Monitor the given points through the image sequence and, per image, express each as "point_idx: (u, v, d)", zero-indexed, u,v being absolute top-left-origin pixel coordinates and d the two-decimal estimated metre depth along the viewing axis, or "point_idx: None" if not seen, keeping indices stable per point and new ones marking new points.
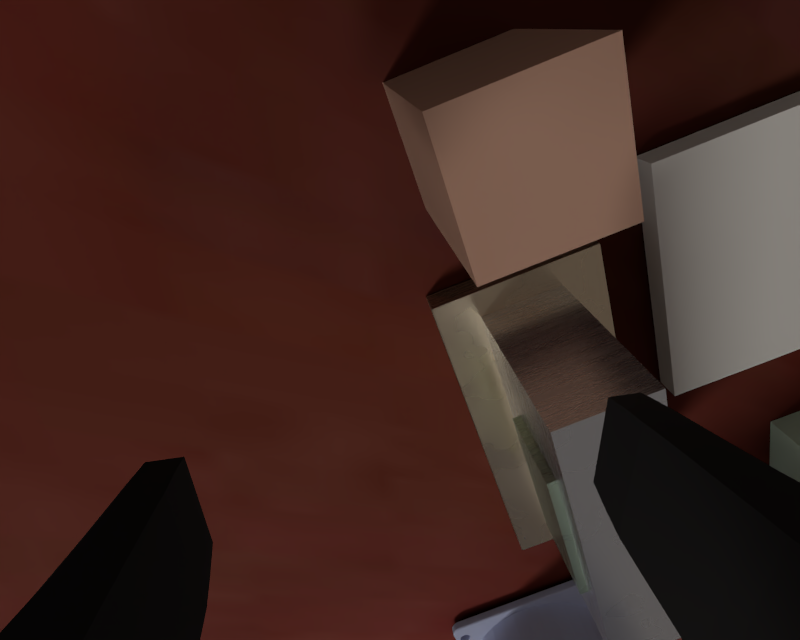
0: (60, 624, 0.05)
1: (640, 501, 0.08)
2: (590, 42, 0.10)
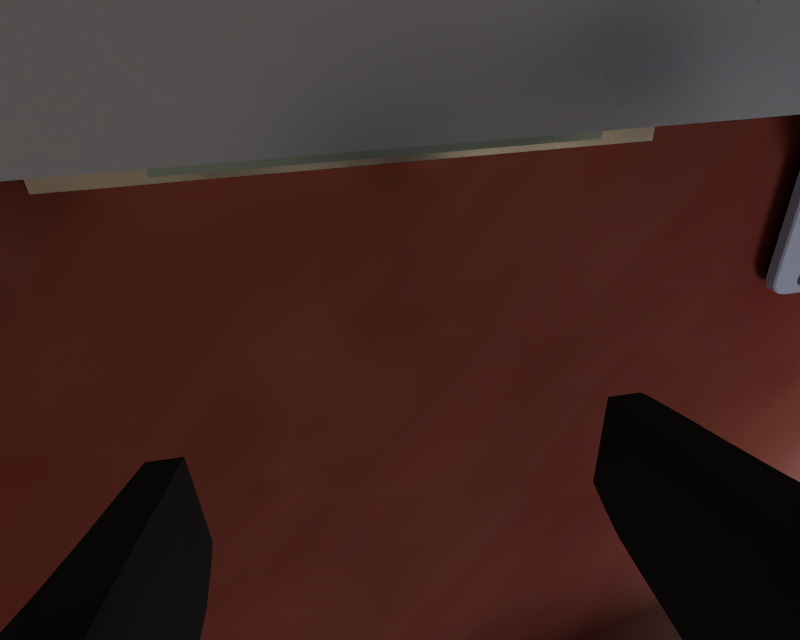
0: (60, 624, 0.05)
1: (640, 501, 0.08)
2: None
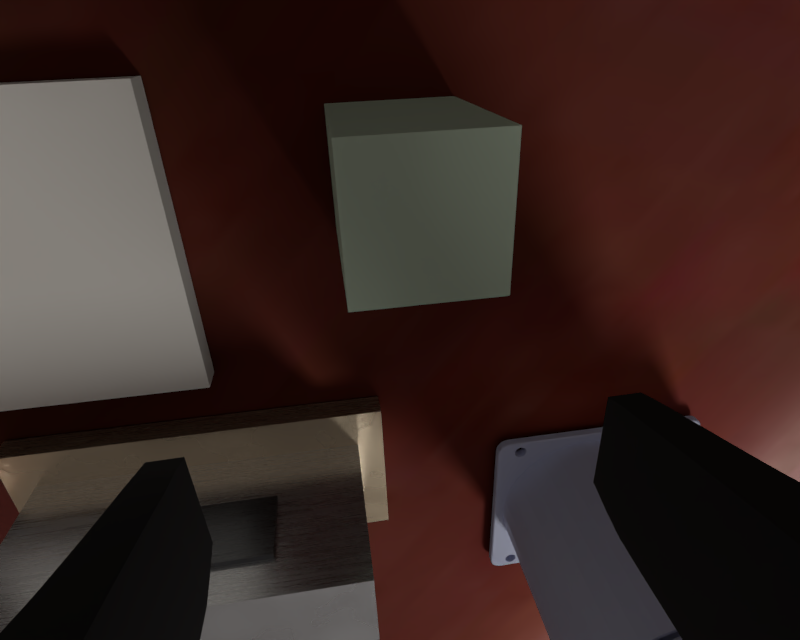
0: (60, 624, 0.05)
1: (640, 501, 0.08)
2: None
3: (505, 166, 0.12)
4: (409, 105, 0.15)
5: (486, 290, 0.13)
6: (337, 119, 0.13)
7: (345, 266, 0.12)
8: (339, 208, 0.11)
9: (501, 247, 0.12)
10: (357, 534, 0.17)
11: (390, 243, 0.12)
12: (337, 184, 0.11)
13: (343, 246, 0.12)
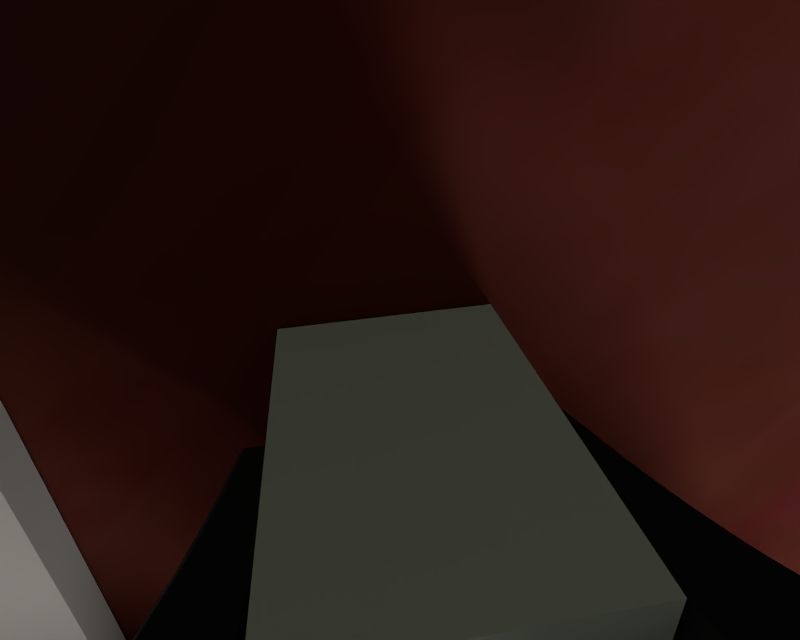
0: (213, 598, 0.06)
1: None
2: None
3: None
4: (420, 363, 0.08)
5: None
6: (282, 463, 0.07)
7: None
8: None
9: None
10: None
11: None
12: None
13: None
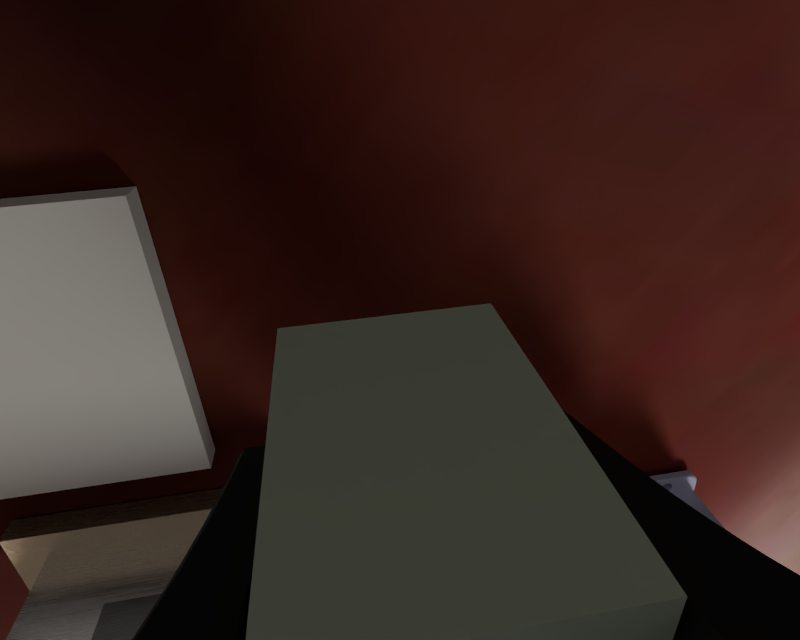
0: (213, 598, 0.06)
1: None
2: None
3: None
4: (420, 362, 0.08)
5: None
6: (283, 462, 0.07)
7: None
8: None
9: None
10: None
11: None
12: None
13: None
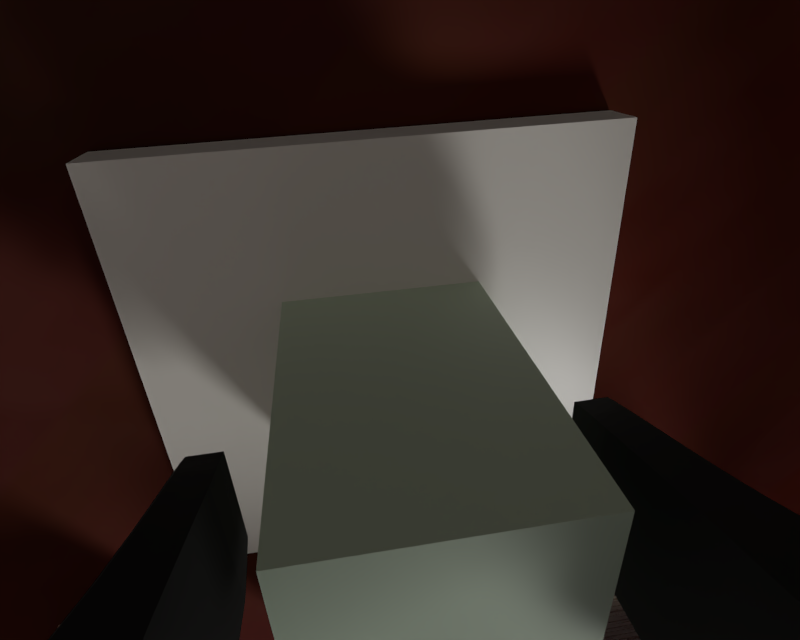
0: (122, 613, 0.05)
1: None
2: None
3: (597, 565, 0.06)
4: (412, 330, 0.09)
5: None
6: (288, 410, 0.07)
7: None
8: None
9: None
10: None
11: None
12: (274, 629, 0.06)
13: None
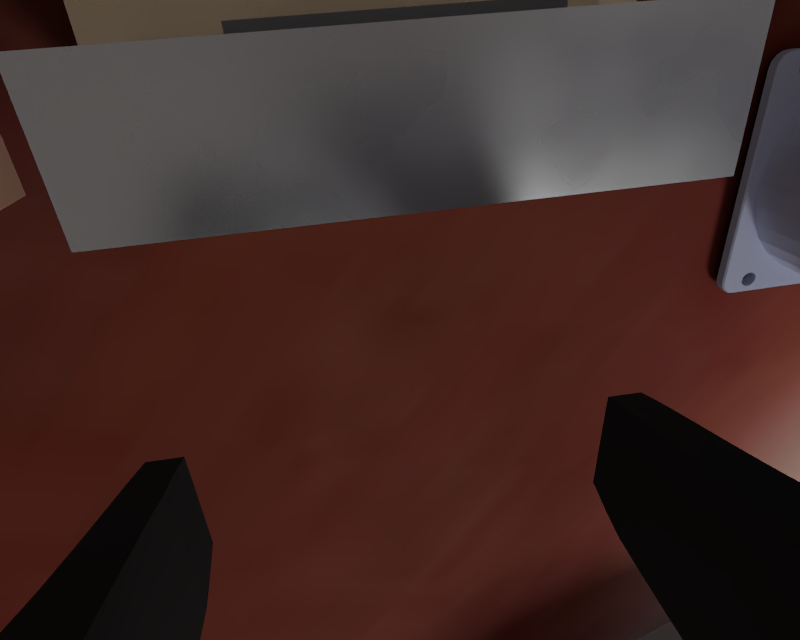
0: (60, 624, 0.05)
1: (640, 501, 0.08)
2: None
3: None
4: None
5: None
6: None
7: None
8: None
9: None
10: None
11: None
12: None
13: None
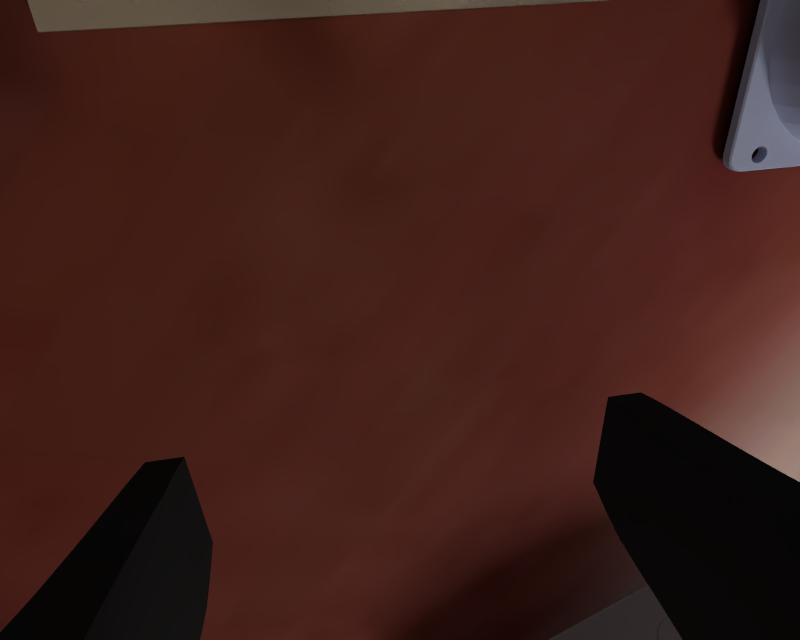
0: (60, 624, 0.05)
1: (640, 501, 0.08)
2: None
3: None
4: None
5: None
6: None
7: None
8: None
9: None
10: None
11: None
12: None
13: None
